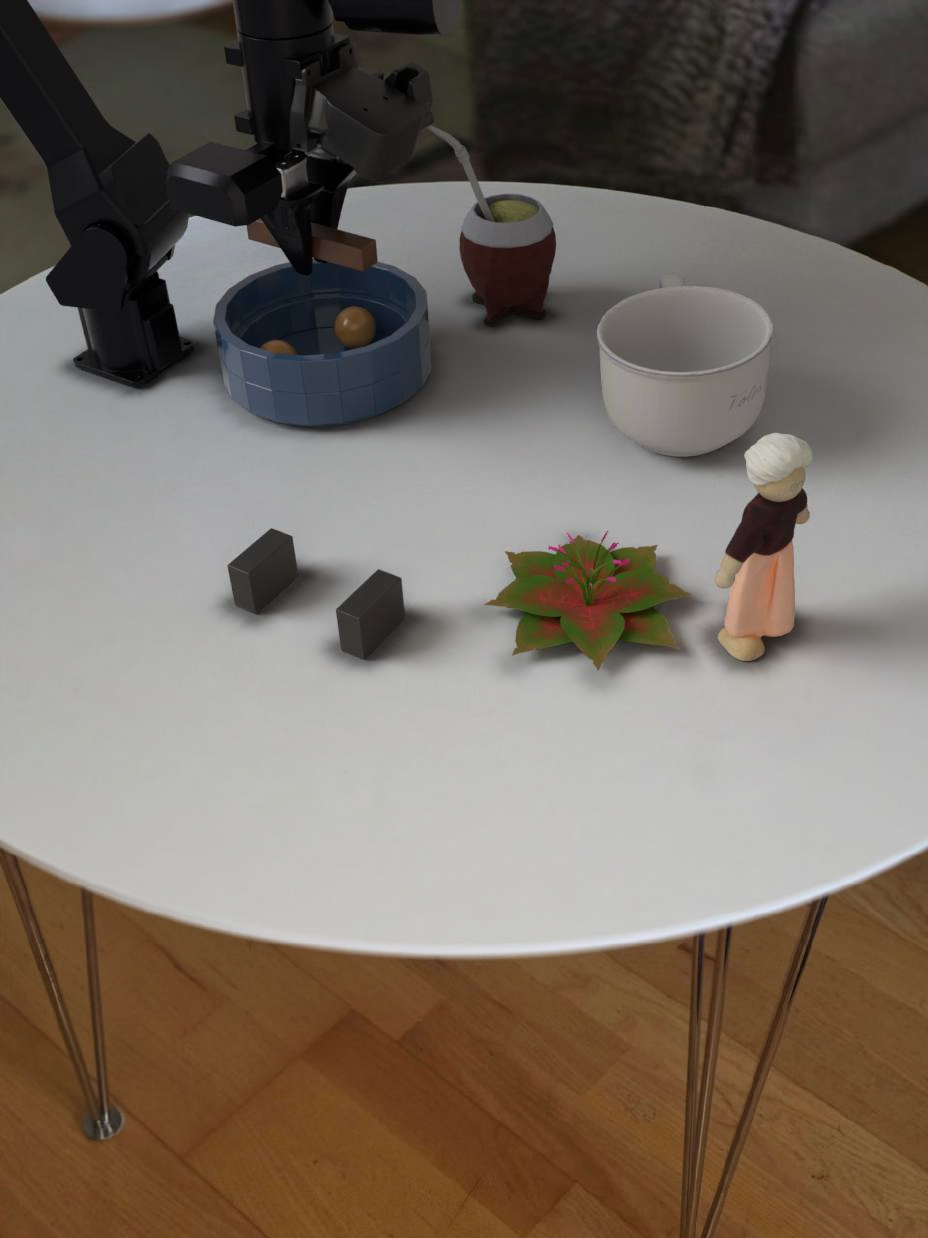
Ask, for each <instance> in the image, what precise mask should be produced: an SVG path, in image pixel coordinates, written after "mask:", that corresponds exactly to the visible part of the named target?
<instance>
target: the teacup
mask: <svg viewBox="0 0 928 1238" xmlns="http://www.w3.org/2000/svg"><path fill="white" fill-rule="evenodd" d="M773 336H774V323H773V320H772V318H771V316H770V314H768V312H767V311H766V309H765V308H764V307H763V306H762V305H761V304H759V303H758V302H756V301H755V300H754V299H752V298H750V297H748V296H746V295H743V294H742V293H739V292H735V291H732V290H728V289H725V288H720V287H714V286H713V287H712V286H704V285H703V286H701V285H700V286H699V285H686V280H685V277H684V275H683V274H681V273H676V272H674V273H667V274H666V273H665V274H664V275H662V276H661V277H660V279H659V285H658V287H657V288H654V289H650V290H645V291H643V292H638V293H635V294H633V295H631V296H628V297H626V298H624V299H622V300H620V301H618V303H616V304H615V305H613V306H612V307H611V308H609V309H608V310H607V311H606V312H605V313H604V314H603V316H602V318H601V319H600V321H599V323H598V326H597V330H596V339H597V343H598V346H599V366H600V382H601V392H602V398H603V399H602V400H603V405H604V407H605V411H606V414H607V415H608V416H607V417H608V418H609V420H610V421H611V423H612V424H613V427H615V429H617V431H619V432H620V433H621V434H622V435H623V436H624V437H626V438H627V439H628V440H630V441H632V442H633V443H636V444H637V445H639V446H641V447H642V448H645V450H648V451H651V452H653V453H656V454H659V455H662V456H663V455H664V456H669V457H677V458H679V457H680V458H681V457H683V458H685V457H695V456H701V455H705V454H708V453H712V452H714V451H716V450H719V449H721V448H722V447H724V446H726V445H728V444H730V443H732V442H733V441H736V440H737V439H738V438H740V437H741V436H743V435H744V434H745V433H746V432H747V431H749V429H750V428H751V427H752V426H753V425H754V423H756V420H757V419H758V418H759V415H760V413H761V410H762V409H763V405H764V401H765V397H766V392H767V385H768V376H769V366H770V353H771V352H770V351H771V343H772V340H773Z"/></svg>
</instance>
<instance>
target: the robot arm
mask: <svg viewBox="0 0 928 1238" xmlns="http://www.w3.org/2000/svg"><path fill="white" fill-rule="evenodd" d="M460 5H461V0H232V6H233V13H234V20H235V26H236V28H235V29H236V35H237V40H234V41H232V42H229V43H228V44H226V45H224V46H223V49H224V57H225V64H227V65H231V66H235V67H240V68H241V72H242V78H243V85H244V86H243V87H244V92H245V100H246V108H245V109H243V110H241V111H238V113H236V114H234V115H233V117H234V124H235V130H236V132H237V133H241V134H245V135H250V136H252V138H253V141H254V142H255V143H254V144H252V145H251V146H248V147H247V148H245V149H242V148H238V147H235V146H230V145H227V144H224V143H223V144H222V143H218V142H214V141H209V142H207V143H205V144H203V145H201V146H199V147H197V148H196V149H194V150H192V151H190V152H188V153H186V154H184V155H182V156H181V157H179V158H176V159H175V160H173V161H172V162H171V163H169V162H170V161H168V159H167V157H166V155H165V152H164V151H163V148H162V145H161V144H160V142H159V141H158V140H157V138H156V137H155V136H153V134H152V133H150V132H147V133H146V134H144V135H143V136H141V138H140V139H138V140H137V141H136V140H134V139H132V138H131V137H129V136H128V135H125V133H123V132H121V131H120V130H118V129H117V128H115V127H113V126H112V125H111V124H110V123H109V121H107V120H106V118H105V117H104V116H103V114H102V112H101V111H100V109H99V108H98V106H97V105H96V103H95V102H94V100H93V98H92V97H91V95H90V94H89V92H88V91H87V90H86V88H85V86H84V85H83V83H82V81H81V80H80V79H79V77H78V75H77V74H76V72H75V71H74V69H73V68H72V66H71V65H70V64H69V62H68V60H67V59H66V57H65V55H64V54H63V52H62V50H60V48H59V46H58V45H57V43H56V42H55V40H54V38H53V37H52V36H51V34H50V33H49V31H48V29H47V28H46V27H45V25H44V23H43V21H42V20H41V19H40V17H39V16H38V14H37V12H36V10H34V7H32V5H31V3H30V2H29V0H0V101H1V102H2V104H3V105H4V106H5V107H6V109H7V111H8V112H9V114H10V115H11V116H12V118H13V120H14V121H15V123H16V124H17V125H18V127H19V128H20V130H21V132H22V133H23V134H24V135H25V137H26V139H27V140H28V141H29V142H30V144H31V146H32V147H33V148H34V150H35V151H36V153H37V155H38V156H39V157H40V160H41V161H42V162H43V164H44V166H45V169H46V173H47V179H48V185H49V191H50V197H51V202H52V207H53V214H54V216H55V219H56V221H57V223H58V225H59V226H60V228H61V230H62V232H63V234H64V236H65V237H66V240H67V242H68V243H69V245H70V247H69V248H68V250H67V251H66V252H65V253H64V254H63V256H62V257H61V258H60V259H59V260H58V262H57V263H56V264H55V265H54V267H53V268H52V269H51V270H50V271H49V273H48V274H47V275H46V277H45V282H46V284H47V285H48V287H49V288H50V291H51V292H52V294H53V296H54V298H55V299H56V301H57V303H58V304H59V305H60V306H62V307H70V308H77V312H78V315H79V320H80V324H81V328H82V332H83V336H84V340H85V343H86V348H87V349H86V350H84V351H83V352H81V353H80V354H78V355H76V356H74V358H73V359H72V362H73V365H74V367H75V368H78V369H81V370H83V371H86V372H89V373H92V374H95V375H98V376H100V377H104V378H107V379H110V380H112V381H115V382H118V383H121V384H124V385H126V386H130V387H132V388H138V387H141V386H143V385H145V384H146V383H147V382H149V381H151V380H152V379H153V378H155V377H156V376H158V375H159V374H161V373H162V372H164V371H165V370H167V369H168V368H170V367H171V366H173V365H175V363H177V362H178V361H180V360H182V359H183V358H184V357H186V356H188V355H189V354H191V352H193V351H195V349H196V345H195V341H193V340H191V339H189V338H185V337H182V336H180V333H179V327H178V322H177V321H178V320H177V317H176V312H175V307H174V304H173V303H171V300H170V295H169V289H168V285H167V280H165V279H163V278H160V275H159V271H158V270H159V269H160V268H161V267H162V266H163V265H164V264H166V262H167V261H170V260H171V259H172V258H173V257H174V254H175V250H176V249H175V248H176V244H177V243H179V241H180V240H181V239H182V238H183V237H184V235H185V234H186V231H187V229H188V225H189V218H190V216H189V215H192V216H196V217H199V218H202V219H206V220H210V221H214V222H217V223H221V224H224V225H228V226H231V227H235V228H237V227H244V226H247V225H250V224H251V223H253V222H255V221H256V220H258V219H261V220H262V221H263V223H264V224H265V226H266V227H267V228H268V230H269V232H270V233H271V235H272V236H273V238H274V239H275V241H276V242H277V244H278V245H279V247H280V248H279V249H280V250H281V251H282V253H283V254H284V256H285V257H286V260H288V262H290V263H291V265H292V266H293V268H294V269H295V271H296V272H297V273H299V274H302V275H306V276H308V275H310V274H311V273H312V266H313V245H312V227H311V222H312V223H316V224H320V225H323V226H327V227H331V228H334V229H338V228H339V224H340V219H341V215H342V210H343V206H344V203H345V200H346V196H347V192H348V188H349V185H350V182H351V180H352V179H353V178H354V177H355V175H357V174H358V175H359V176H361V177H363V178H366V179H368V180H380V179H383V178H385V177H387V176H388V175H389V173H390V172H391V171H392V170H394V169H395V168H397V167H399V166H400V165H402V164H403V163H405V164H407V163H408V162H410V161H412V159H413V158H414V155H415V152H416V147H417V144H418V141H419V136H420V133H421V132H423V131H424V130H426V129H427V127H429V126H431V125H432V126H433V124H434V123H435V116H434V114H433V113H432V111H431V110H432V106H433V101H434V100H433V92H432V85H431V79H430V72H429V71H428V70H427V69H425V68H424V67H422V66H420V65H419V64H417V63H416V62H415V61H411V60H410V61H408V62H407V63H405V64H403V65H401V66H399V67H397V68H396V69H394V70H393V71H392V72H391V73H389V72H385V71H384V72H383V71H381V70H374V69H369V68H364V67H360V66H358V64H357V60H356V50H355V46H354V45H353V44H351V39H350V38H351V37H350V36H349V35H344V34H338V33H335V24H334V20H335V21H336V22H341V23H342V22H343V23H344V25H345V26H346V27H347V28H348V29H349V30H351V31H354V32H368V33H383V34H400V35H401V34H402V35H415V36H416V35H417V36H428V37H430V36H431V37H448V36H449V35H451V33H452V31H453V29H454V27H455V25H456V21H457V19H458V14H459V9H460ZM338 230H339V229H338ZM314 260H315V261H317V262H320V263H324V264H326V263H328V262H327V261H323V260H320V259H316V258H314Z"/></svg>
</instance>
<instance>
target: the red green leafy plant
mask: <svg viewBox="0 0 928 1238" xmlns="http://www.w3.org/2000/svg"><path fill="white" fill-rule="evenodd" d="M608 533H609V530H606V531H605V533H604V535H603V536H602V539H601V541H600V543H599V542H596V541H593V540H591V539H587V536H585V537H582V536H581V535H580V534H578V535H576V537H575V538H574V537H573V536H572V535H571V534H570V533H569V532H566V535H567V538H568V539H569V543H565V544H563V545H561V544H557V547H556V546H550V545H549V546H548V548H547V549H548V550H551V551H553V552H555V554H554V553H551V552H548V551H543V550H542V551H541V550H539V551H537V550H534V551H533V550H532V551H531V550H530V551H520V552H517V553H515V552H514V551H507V550H504V553H505V554H506V556H507V559H508V563H510V568H511V570H512V573H513V575H514V576H515V578H516V579H514V580H513V581H511V582H510V583H509V584H508V585H507V586H505V588H503V589H502V590H501V591H500V592H498V594H497V596H496V598H495V599H490V600H489V601H488V602H485V603H484V604H483V606H493V607H498V608H499V607H500V608H503V607H506V608H507V609H513V610H519V611H521V612H525V613H523V615H522V616H521V618H520V619H519V621H518V622H517V627H516V632H515V640H514V642H515V645H516V647H515V648H514V650H513V652H512V653H511V656H516V655H519V654H523V653H524V654H525V653H528V652H533V651H534V650H542V649H546V648H550V647H556V646H560V645H565V644H568V643H571V642H573V644H575V646H576V647H577V648H578V649H579V650H580V651H581V652H582V653H583V655H585V657H586V658H589V660H591V661H592V665H594V667H595V668H596V670H597V672H599V671H600V669H601V667H602V664H604V662H605V660H606V659H607V657H608V656H609V651H611V650H613V648H614V647H615V646H616V644H617V642H618V641H623V642H628V643H629V642H630V643H638V644H643V645H644V644H645V645H652V646H667V647H668V648H673V649H677V650H680V648H679V646H678V645H677V643H676V642H675V639H674V636H673V633H671V632H670V630H671V627H670V625H669V622H668V620H667V619H666V617H665V616H664V615H663V613H662V612H660V610H658V609H657V608H656V607H655V606H657V605H659V604H661V603H663V602H668V601H673V600H677V599H680V597H690V596H692V594H691V593H690V592H688V591H684V589H682V588H681V587H679V586H678V585H676V584H675V583H671V582H670V580H669V579H668V578H667V577H666V576H664V575H662V574H661V573H659V572H657V571H655V569H656V565H657V554H656V553H655V552H656V551H657V548H658V544H654V545H646V546H645V545H644V546H639V547H637V548H636V547H634V546H628V547H620V548H617V547H618V545H620V542H615V541H614V542H612V544H610V546H609V547H608V548H606V546H604V545H603V542H604V541H605V539H606V538H607V536H608Z"/></svg>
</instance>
